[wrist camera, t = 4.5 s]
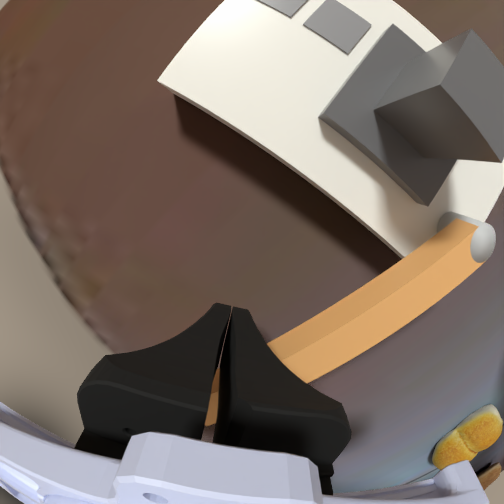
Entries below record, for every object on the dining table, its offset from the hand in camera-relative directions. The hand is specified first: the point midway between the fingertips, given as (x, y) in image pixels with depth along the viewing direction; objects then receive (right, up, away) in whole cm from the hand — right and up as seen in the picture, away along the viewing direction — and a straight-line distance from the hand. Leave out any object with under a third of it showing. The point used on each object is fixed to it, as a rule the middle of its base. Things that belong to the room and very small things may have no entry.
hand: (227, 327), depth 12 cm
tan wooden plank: (+5, +1, +1) cm, 5 cm away
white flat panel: (+7, +10, +1) cm, 12 cm away
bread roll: (+24, -16, +9) cm, 30 cm away
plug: (+7, +10, +1) cm, 12 cm away
